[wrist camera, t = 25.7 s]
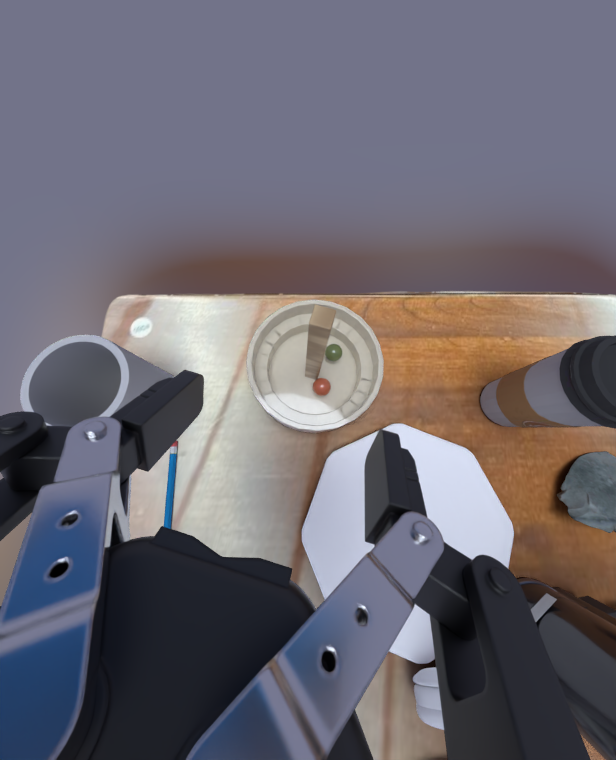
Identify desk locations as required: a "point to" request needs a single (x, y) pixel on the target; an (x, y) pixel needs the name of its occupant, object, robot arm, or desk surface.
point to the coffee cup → (558, 389)
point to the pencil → (170, 485)
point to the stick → (318, 339)
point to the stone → (592, 490)
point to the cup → (85, 380)
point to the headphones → (428, 697)
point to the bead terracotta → (321, 386)
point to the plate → (443, 507)
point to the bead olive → (333, 352)
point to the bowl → (347, 375)
